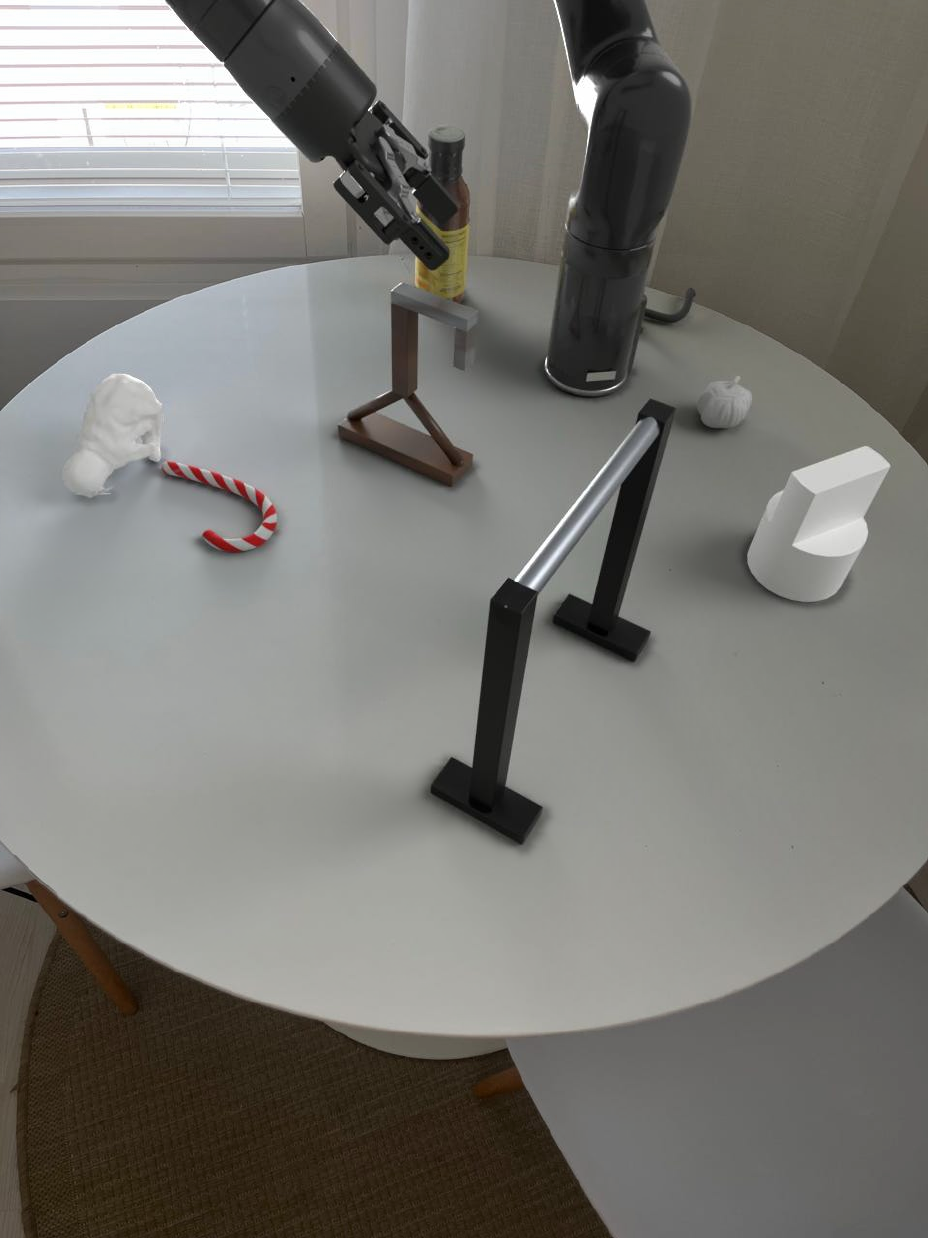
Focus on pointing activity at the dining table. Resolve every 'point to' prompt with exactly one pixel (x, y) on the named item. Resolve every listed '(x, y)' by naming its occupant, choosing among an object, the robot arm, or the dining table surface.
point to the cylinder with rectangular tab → (816, 526)
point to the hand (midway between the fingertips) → (446, 238)
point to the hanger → (392, 436)
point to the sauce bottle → (455, 232)
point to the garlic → (724, 404)
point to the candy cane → (237, 488)
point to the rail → (556, 622)
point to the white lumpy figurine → (114, 433)
